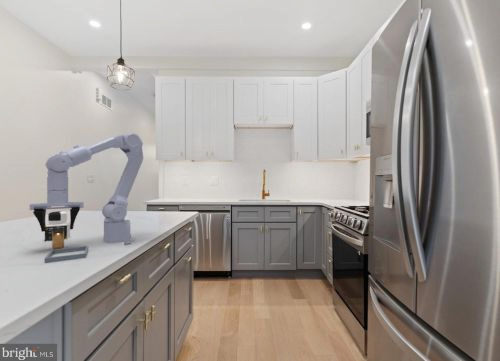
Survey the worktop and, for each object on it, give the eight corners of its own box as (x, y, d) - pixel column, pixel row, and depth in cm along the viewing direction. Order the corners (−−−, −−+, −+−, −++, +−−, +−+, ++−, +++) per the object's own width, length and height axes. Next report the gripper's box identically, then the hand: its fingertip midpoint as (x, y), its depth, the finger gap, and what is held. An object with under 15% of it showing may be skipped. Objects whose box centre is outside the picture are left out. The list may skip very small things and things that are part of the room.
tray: (88, 253, 86) (88, 245, 86) (85, 261, 77) (85, 253, 77) (51, 257, 81) (51, 249, 81) (44, 267, 72) (44, 258, 72)
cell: (64, 247, 88) (64, 225, 88) (63, 250, 85) (63, 226, 85) (53, 248, 86) (53, 226, 86) (51, 251, 83) (51, 227, 83)
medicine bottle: (44, 244, 97) (44, 213, 97) (49, 240, 103) (49, 211, 103) (67, 242, 100) (66, 212, 100) (70, 238, 106) (70, 210, 106)
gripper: (84, 189, 92) (84, 226, 92) (33, 190, 85) (33, 229, 85) (82, 190, 86) (82, 229, 86) (27, 191, 79) (27, 233, 79)
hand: (57, 230), depth 85 cm, fingers open, 7 cm apart
